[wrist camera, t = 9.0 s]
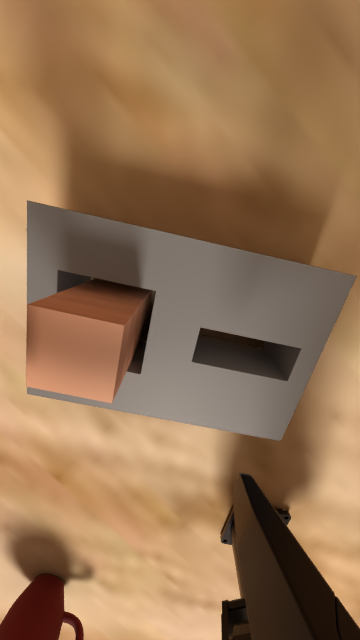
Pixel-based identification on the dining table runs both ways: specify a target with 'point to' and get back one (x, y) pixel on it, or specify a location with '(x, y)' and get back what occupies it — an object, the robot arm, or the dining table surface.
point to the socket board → (195, 319)
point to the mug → (39, 612)
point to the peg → (85, 338)
